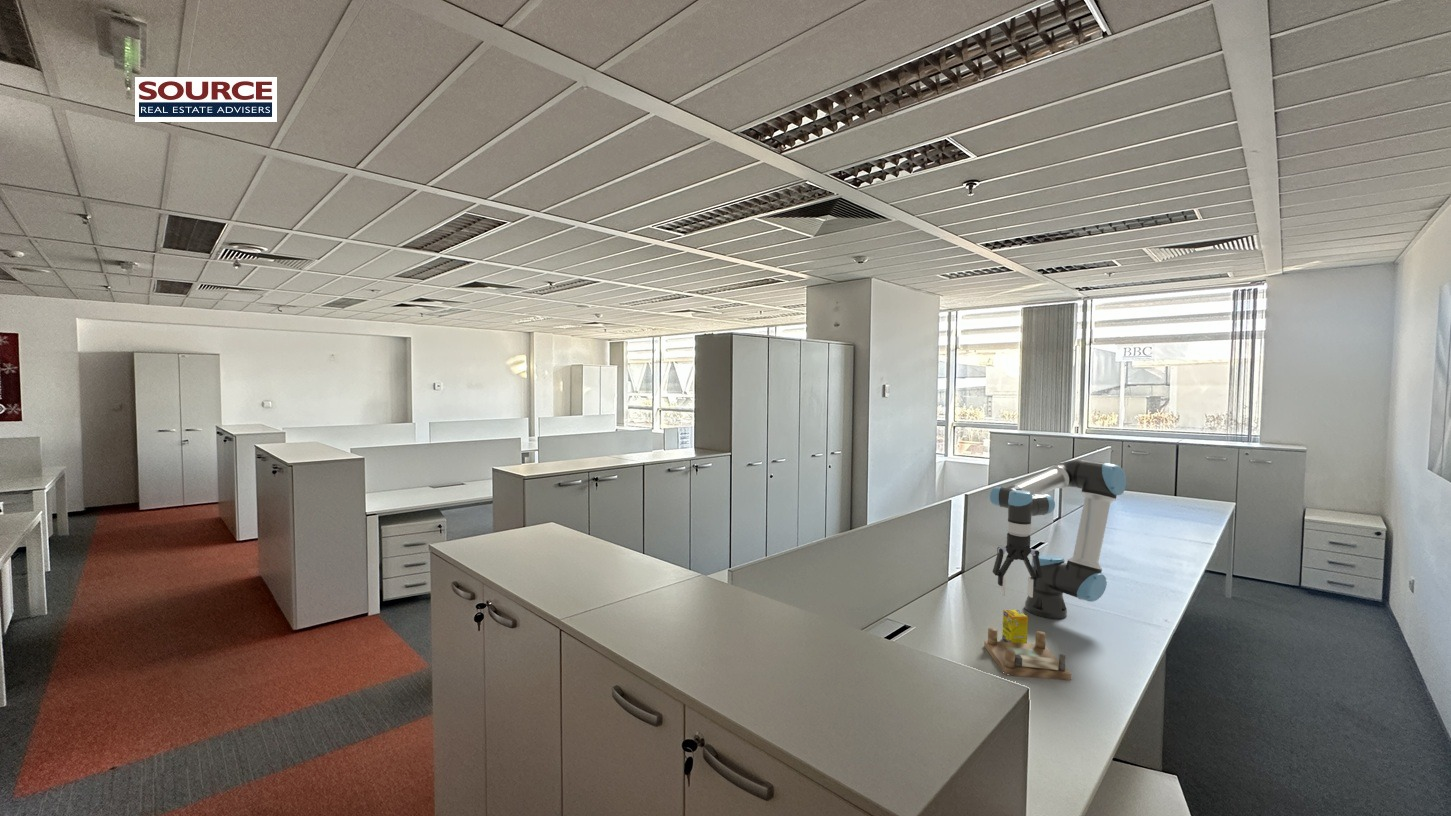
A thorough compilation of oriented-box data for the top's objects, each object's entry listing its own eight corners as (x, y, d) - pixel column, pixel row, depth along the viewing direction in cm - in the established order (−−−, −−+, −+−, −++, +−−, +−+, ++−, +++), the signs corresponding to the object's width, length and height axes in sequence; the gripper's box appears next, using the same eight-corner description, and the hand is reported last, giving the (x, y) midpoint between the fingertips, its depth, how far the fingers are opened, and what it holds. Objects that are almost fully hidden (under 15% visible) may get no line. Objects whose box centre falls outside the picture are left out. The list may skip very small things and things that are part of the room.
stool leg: (1055, 666, 183) (1055, 658, 183) (1058, 670, 180) (1058, 662, 180) (1012, 661, 185) (1013, 654, 185) (1015, 665, 183) (1015, 657, 183)
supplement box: (1001, 638, 208) (1002, 609, 207) (1017, 638, 208) (1018, 609, 208) (1011, 646, 202) (1012, 616, 201) (1027, 646, 202) (1028, 616, 202)
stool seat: (1043, 650, 199) (1044, 630, 199) (1071, 679, 179) (1072, 658, 179) (984, 646, 202) (985, 627, 201) (1004, 674, 182) (1005, 653, 181)
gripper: (1045, 532, 206) (1043, 593, 207) (984, 529, 208) (981, 589, 209) (1055, 538, 198) (1052, 601, 199) (991, 535, 201) (988, 597, 202)
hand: (1016, 595), depth 204 cm, fingers open, 9 cm apart
